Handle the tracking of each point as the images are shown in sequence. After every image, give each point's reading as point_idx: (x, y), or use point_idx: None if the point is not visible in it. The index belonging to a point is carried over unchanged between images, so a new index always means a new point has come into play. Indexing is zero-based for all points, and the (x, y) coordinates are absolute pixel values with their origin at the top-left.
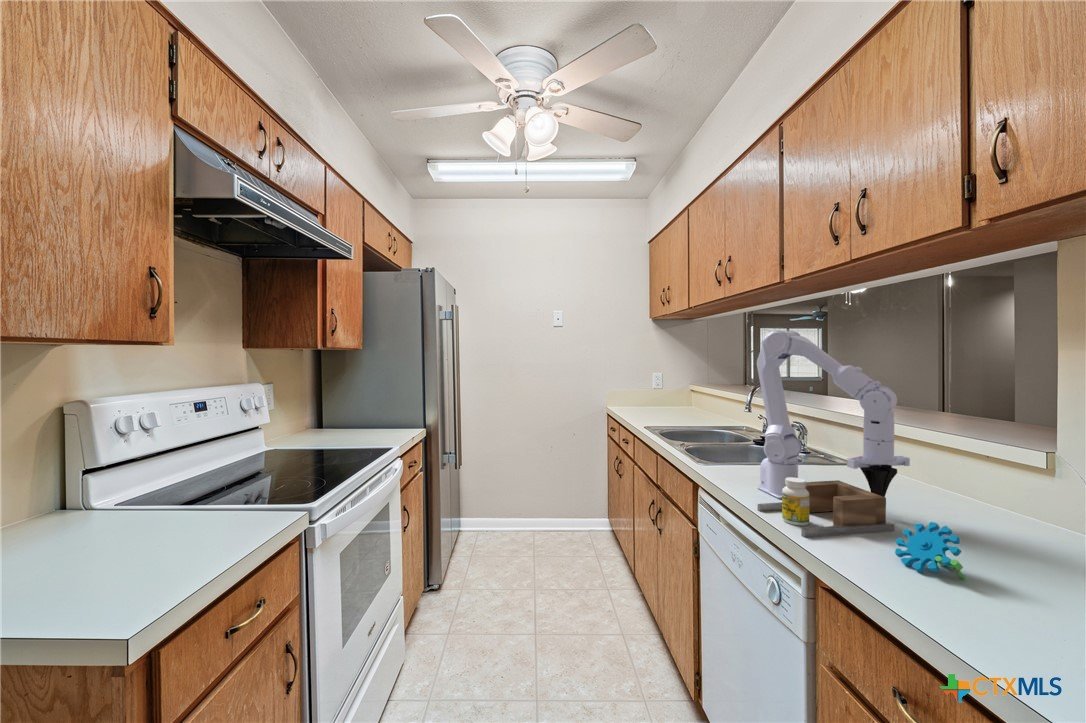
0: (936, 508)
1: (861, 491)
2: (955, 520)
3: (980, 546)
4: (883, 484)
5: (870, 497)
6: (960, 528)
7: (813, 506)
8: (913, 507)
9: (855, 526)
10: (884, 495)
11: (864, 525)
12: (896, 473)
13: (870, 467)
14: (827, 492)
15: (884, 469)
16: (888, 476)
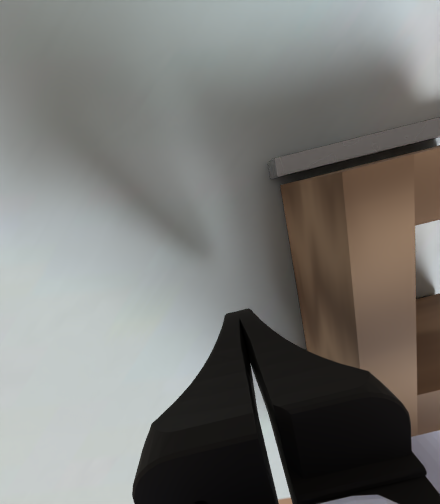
0: (5, 373)
1: (394, 281)
2: (3, 276)
3: (58, 30)
4: (253, 345)
5: (431, 170)
6: (28, 204)
7: (435, 308)
8: (73, 374)
9: (435, 119)
10: (228, 318)
11: (394, 133)
12: (159, 420)
13: (435, 497)
14: (429, 352)
15: (269, 477)
16: (237, 385)
